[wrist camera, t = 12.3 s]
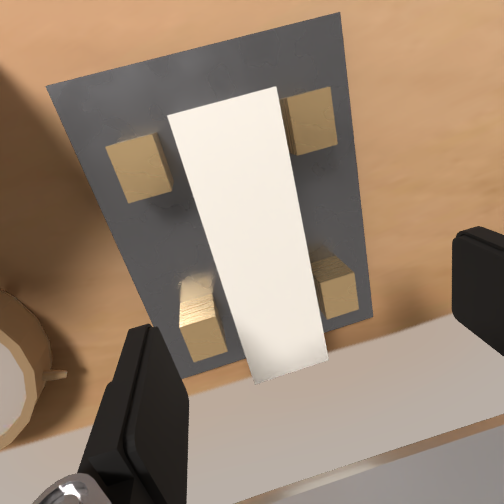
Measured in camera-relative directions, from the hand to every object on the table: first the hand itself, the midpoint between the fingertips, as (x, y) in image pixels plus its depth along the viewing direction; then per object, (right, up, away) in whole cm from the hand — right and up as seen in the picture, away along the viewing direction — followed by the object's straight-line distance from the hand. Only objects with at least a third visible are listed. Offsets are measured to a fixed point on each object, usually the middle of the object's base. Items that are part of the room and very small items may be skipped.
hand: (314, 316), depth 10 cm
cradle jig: (-2, +4, +10) cm, 11 cm away
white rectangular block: (-2, +3, +9) cm, 10 cm away
